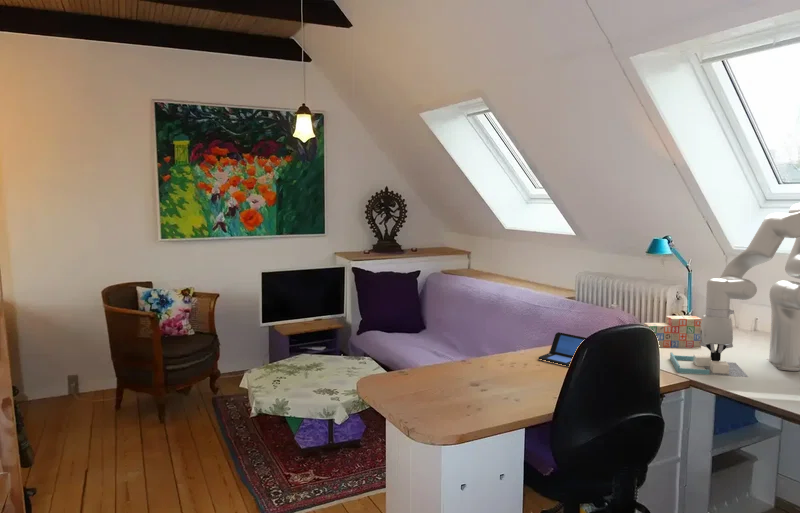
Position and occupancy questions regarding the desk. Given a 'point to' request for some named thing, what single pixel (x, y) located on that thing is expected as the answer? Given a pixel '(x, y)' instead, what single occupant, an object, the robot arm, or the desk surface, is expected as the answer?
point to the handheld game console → (563, 348)
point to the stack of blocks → (678, 332)
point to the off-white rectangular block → (719, 367)
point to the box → (686, 370)
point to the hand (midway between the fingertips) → (715, 362)
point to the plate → (730, 370)
